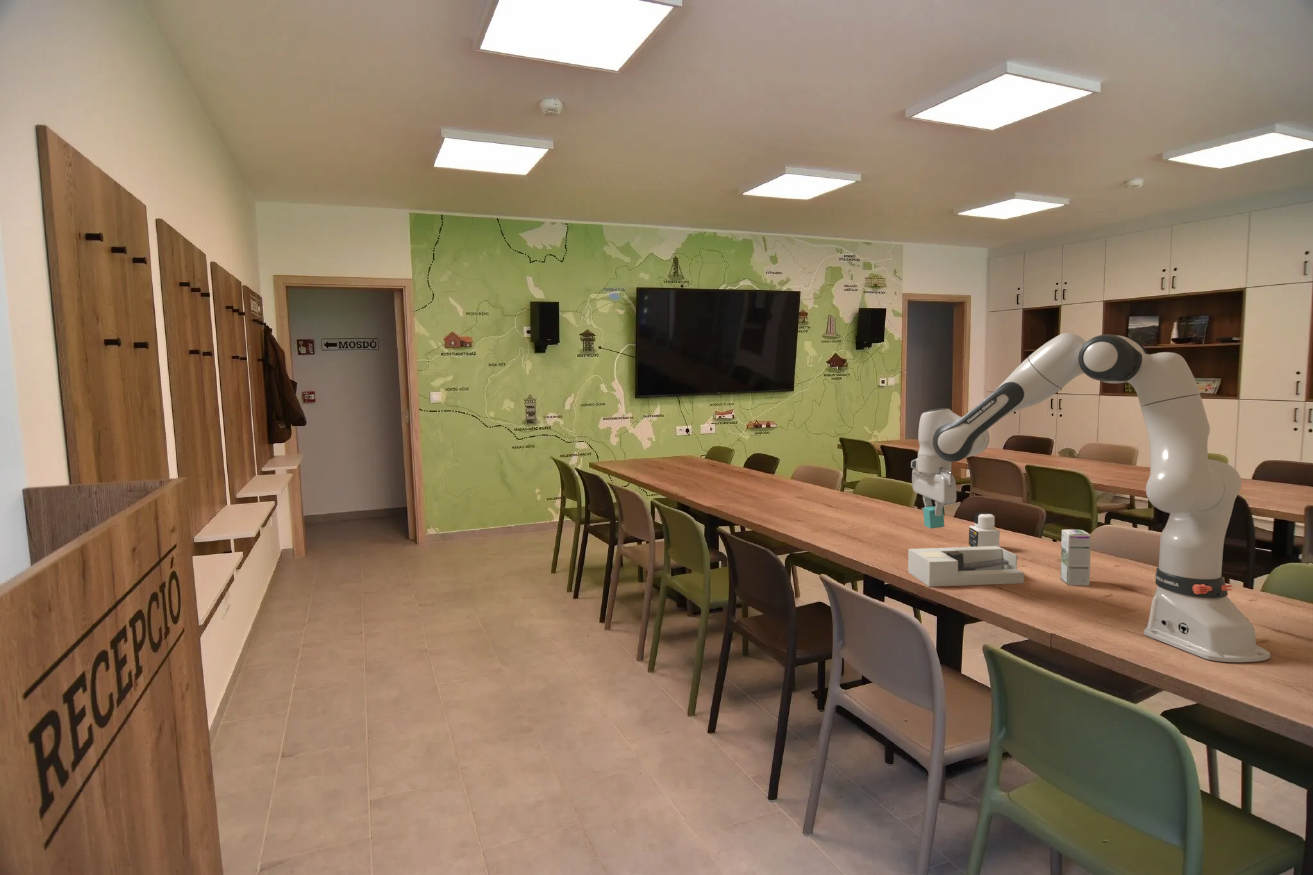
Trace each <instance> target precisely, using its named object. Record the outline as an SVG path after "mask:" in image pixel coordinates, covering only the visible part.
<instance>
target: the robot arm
mask: <svg viewBox="0 0 1313 875" xmlns="http://www.w3.org/2000/svg"><path fill="white" fill-rule="evenodd" d="M1083 374H1084V375H1086V376H1087V377H1089V378H1091V379H1092V380H1095V381H1100V382H1103V383H1106V384H1111V385H1112V384H1127V383H1128V384H1130V385H1131V386H1132V387H1133V388H1134V391H1135V392H1136V394H1137V399H1138V403H1139V405H1140V411H1141V412H1142V416H1143V420H1144V425H1145V428H1146V432H1147V435H1148V437H1147V438H1148V442H1149V451H1150V452H1149V457H1150V458H1149V459H1150V460H1149V461H1150V462H1149V465H1150V466H1149V467H1150V469H1149V470H1150V471H1149V472H1150V474H1149V476H1148V480H1147V482H1146V484H1145V485H1146V486H1145V493H1146V497H1147V499H1148V501H1149V503H1150V504H1151V505H1152V506H1154V508H1156V509H1158V510H1160V511H1162V512H1164V513H1166V514H1167V513H1168V514H1169V516H1168V519H1167V522H1166V524H1165V527H1164V528H1163V529H1162V532H1161V533H1160V538H1159V540H1160V542H1159V554H1158V556H1159V558H1158V560H1159V561H1158V567H1157V568H1156V569H1155V570H1156V571H1155V574H1154V575H1155V576H1154V577H1155V583H1154V584H1156V591H1155V593H1154V596H1153V597H1152V601H1151V605H1150V613H1149V616H1148V621H1147V625H1146V627H1145V628H1144V629H1143V634H1144V635H1145V636H1146V637H1149V638H1151V639H1154V640H1157V641H1160V642H1162V643H1164V644H1167V645H1170V646H1172V647H1175V648H1177V649H1180V650H1183V651H1185V652H1187V653H1189V654H1192V655H1195V656H1198V657H1200V658H1202V659H1206V660H1208V661H1209V660H1210V661H1213V662H1214V661H1216V662H1224V663H1255V662H1262V661H1267V660H1269V659H1271V652H1269V650H1267V649H1265V648H1263V647H1261V646H1259V645H1257V642H1256V641H1257V640H1256V639H1257V638H1256V636H1257V635H1256V631H1255V627H1254V625H1253V623H1252V622H1251V621H1250V620H1249V618H1248V617H1247V616H1245V615H1244V614H1243V613H1242V612H1241V610H1240V609H1239V608H1238V607H1237V606H1236V605H1235V603H1234V602H1233V601H1232V600H1231V598H1230V597H1229V596H1228V595H1229V593H1228V591H1232V590H1233V589H1232V587H1233V585H1232V584H1226V582H1225V578H1224V576H1223V575H1222V567H1223V557H1224V556H1223V555H1224V554H1223V553H1224V544H1225V543H1224V542H1225V538H1226V534H1227V529H1228V527H1229V523H1230V519H1231V517H1232V513H1233V509H1234V504H1235V501H1236V499H1237V496H1238V495H1239V493H1240V491H1241V489H1242V478H1241V475H1240V473H1239V472H1238V471H1237V469H1236V468H1235V467H1233V466H1232V465H1230V464H1228V463H1225V462H1224V461H1221V460H1220V461H1219V460H1215V459H1211V458H1210V459H1209V458H1208V457H1209V456H1208V455H1209V454H1208V450H1209V449H1208V441H1209V440H1208V439H1209V435H1210V433H1211V426H1210V424H1209V420H1208V417H1207V413H1206V409H1205V406H1204V404H1203V400H1202V396H1201V393H1200V389H1199V386H1198V384H1197V382H1196V379H1195V376H1194V375H1193V373H1192V370H1191V369H1190V367H1189V365H1188V363H1187V362H1186V360H1185V358H1184V357H1183V356H1182V355H1180V354H1179V353H1176V352H1170V351H1164V352H1162V351H1161V352H1157V353H1151V354H1148V352H1147V349H1146V348H1145V347H1144V346H1143V345H1142V344H1140V343H1139V342H1137V341H1135V340H1132V339H1130V338H1129V337H1126V336H1123V335H1119V334H1118V335H1116V334H1110V333H1109V334H1108V333H1107V334H1099V335H1096V336H1094V337H1092V338H1090V339H1088V340H1087V341H1086V340H1085V339H1084V338H1083V337H1081V336H1079V335H1077V334H1075V333H1072V332H1063V333H1060V334H1059V335H1057V336H1055V337H1053V338H1052V339H1050V340H1048V341H1047V342H1045V343H1043V345H1041V346H1040V347H1039V348H1037V349H1036V350H1035V351H1033V352H1032V353H1031V354H1029V355H1028V357H1027V358H1025V359H1024V360H1023V361H1022V362H1021V363H1020V364H1018V366H1017V367H1016V368H1015V369H1014V370H1013V371H1012V372H1011V373H1010V375H1008V377H1006V378H1005V379H1004V381H1002V383H1000V384H999V386H997V388H996V389H995V390H994V391H992V393H990V394H989V395H988V396H986V397H985V398H984V399H983V400H982V401H980V402H979V403H978V404H977V405H976V406H974V407H973V408H972V409H971V410H970V411H968V412H967V413H965V414H964V415H963V416H960V415H958V414H957V413H955V412H953V411H952V410H951V409H950V408H948V407H941V408H934V409H933V408H932V409H928V410H925V411H923V412H922V413H921V415H920V418H919V424H918V435H917V436H918V438H917V439H918V440H917V441H918V444H919V447H918V448H919V449H918V452H917V458H915V459H912V460H911V462H910V468H912V472H911V482H912V486H911V487H912V490H913V492H914V493H916V494H919V495H921V496H922V500H923V504H924V508H925V507H933V506H935V509H933V512H934V513H933V514H934V515H935V516H941V515H942V509H943V510H944V507H945V505H954V504H955V503H956V502H957V482H956V478H955V477H954V475H953V473H952V463H954V462H956V463H957V462H959V461H962V460H964V459H965V458H969V457H973V456H976V455H979V454H980V453H982V452H984V451H985V450H986V449H987V448H988V445H989V443H990V434H989V431H988V430H989V429H991V428H992V427H993V426H994V425H995V424H996V423H998V422H999V421H1000V420H1002V419H1003V418H1005V417H1006V416H1008V415H1010V414H1012V413H1015V412H1016V411H1019V410H1021V409H1025V408H1029V407H1032V406H1035V405H1038V404H1040V403H1042V402H1043V401H1045V400H1047V399H1049V398H1051V397H1052V396H1054V395H1055V394H1057V393H1058V392H1059V391H1060V390H1062V389H1063V388H1064V387H1066V385H1067V384H1069V383H1070V382H1072V380H1074V379H1075V378H1078V377H1079V376H1081V375H1083ZM932 500H933V501H934V505H933V503H932Z"/></svg>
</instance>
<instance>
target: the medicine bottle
mask: <svg viewBox="0 0 1313 875" xmlns="http://www.w3.org/2000/svg"><path fill="white" fill-rule="evenodd" d="M995 517H996V516H995V515H994V514H993V513H989V512H977V513H975V514H974V521H973V522H974V523H973V524H974V525H969V527H968V547H981V546H998V547H1000V536H1001V535H1000V534H1001V533H1000V530H999V529H997V528H995V521H996V520H995V519H996V518H995Z"/></svg>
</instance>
